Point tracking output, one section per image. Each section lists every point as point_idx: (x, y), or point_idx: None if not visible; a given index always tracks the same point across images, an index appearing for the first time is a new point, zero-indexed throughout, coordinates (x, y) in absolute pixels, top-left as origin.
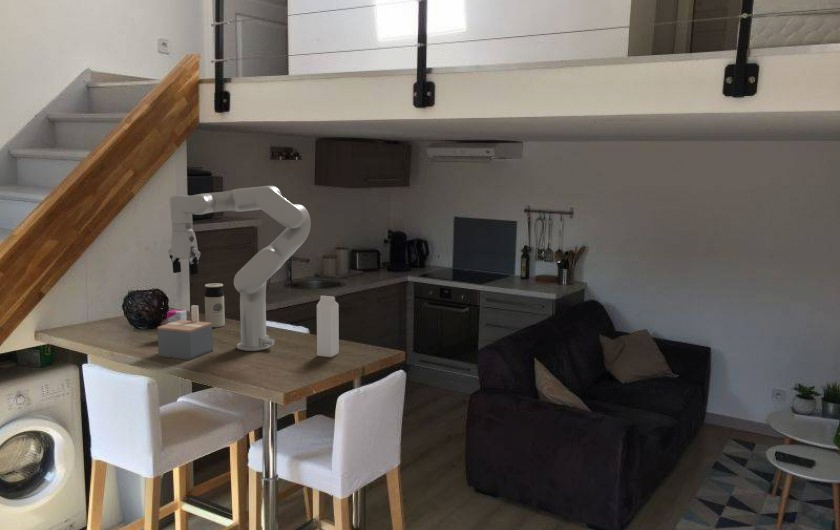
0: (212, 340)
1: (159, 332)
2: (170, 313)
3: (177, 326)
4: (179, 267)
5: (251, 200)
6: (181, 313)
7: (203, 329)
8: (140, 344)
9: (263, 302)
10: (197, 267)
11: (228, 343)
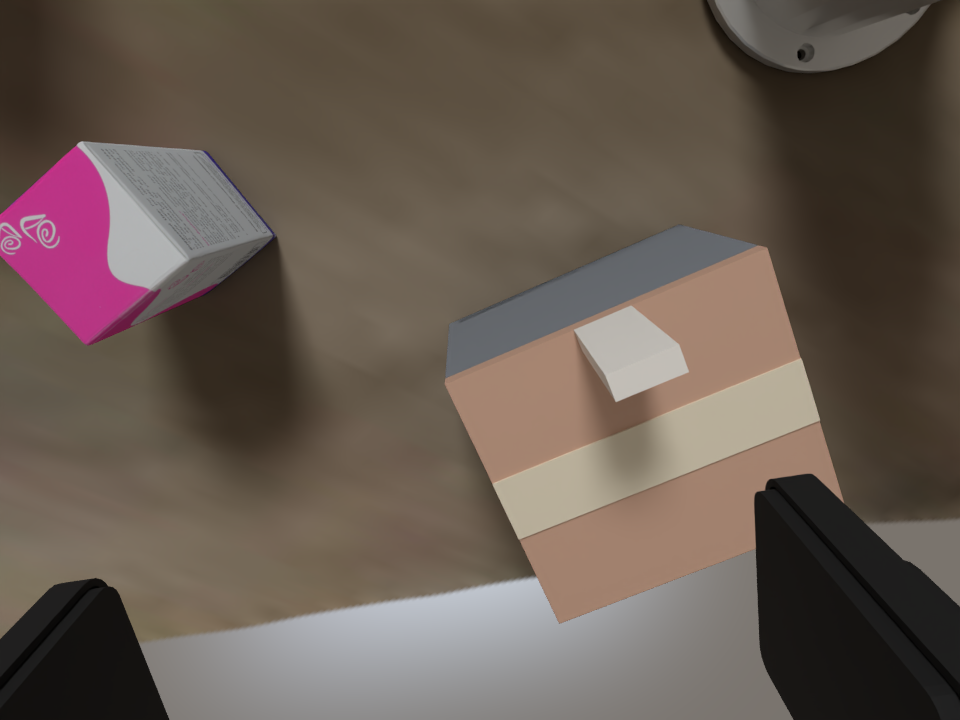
0: (705, 232)
1: None
2: (121, 323)
3: (656, 517)
4: (47, 712)
5: None
6: (181, 242)
7: None
8: (197, 465)
9: None
10: (918, 579)
11: (582, 17)
